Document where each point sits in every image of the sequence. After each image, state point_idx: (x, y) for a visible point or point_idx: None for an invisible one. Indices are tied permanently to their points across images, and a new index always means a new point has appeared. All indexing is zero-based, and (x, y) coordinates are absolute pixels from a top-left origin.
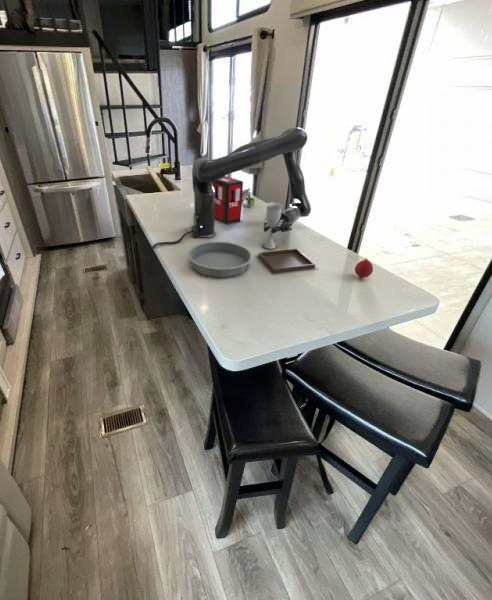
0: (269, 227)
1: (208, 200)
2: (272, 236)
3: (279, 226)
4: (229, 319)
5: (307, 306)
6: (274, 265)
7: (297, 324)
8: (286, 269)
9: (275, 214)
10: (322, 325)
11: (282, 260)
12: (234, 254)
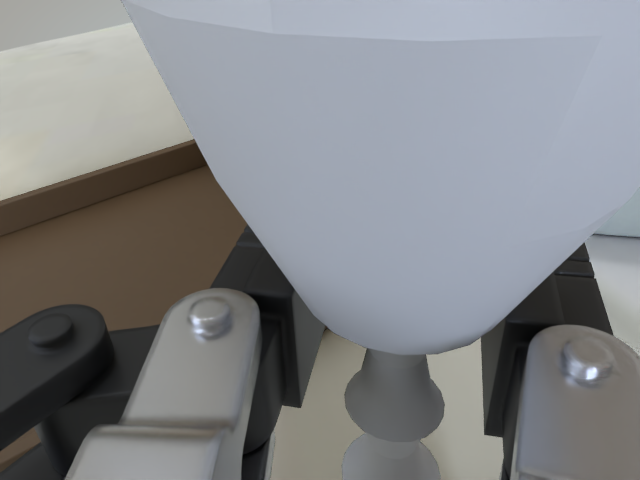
0: (491, 372)
1: None
2: (351, 471)
3: (177, 312)
4: None
5: (69, 76)
6: (221, 212)
7: (121, 41)
8: (128, 173)
9: None
10: (43, 51)
11: (153, 287)
12: (609, 229)
